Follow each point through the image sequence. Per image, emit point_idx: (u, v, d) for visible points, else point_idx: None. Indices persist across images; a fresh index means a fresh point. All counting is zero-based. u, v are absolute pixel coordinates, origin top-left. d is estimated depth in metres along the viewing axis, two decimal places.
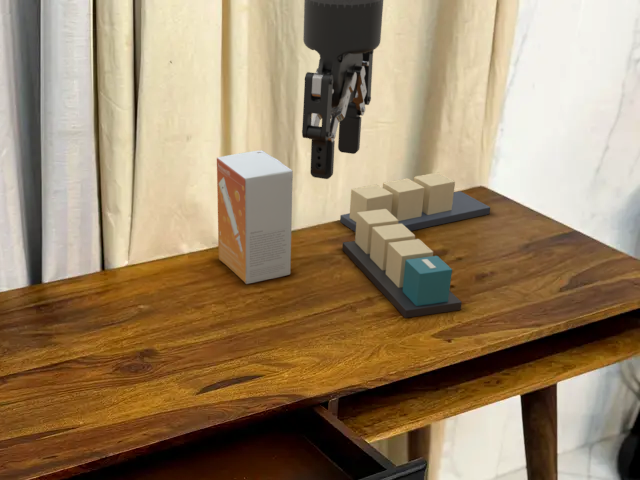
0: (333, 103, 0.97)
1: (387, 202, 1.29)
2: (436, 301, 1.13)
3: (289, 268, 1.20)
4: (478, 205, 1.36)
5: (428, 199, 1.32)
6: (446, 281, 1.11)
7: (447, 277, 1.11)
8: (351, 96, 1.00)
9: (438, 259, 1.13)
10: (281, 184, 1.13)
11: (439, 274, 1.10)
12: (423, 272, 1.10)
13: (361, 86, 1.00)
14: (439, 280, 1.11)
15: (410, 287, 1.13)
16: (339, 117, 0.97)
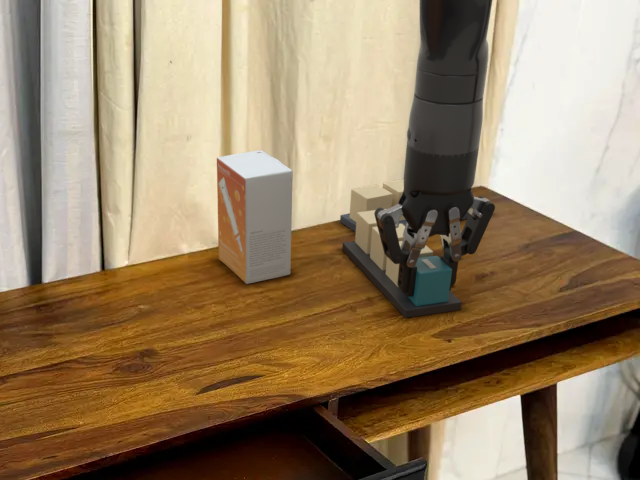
0: (413, 229, 1.08)
1: (387, 202, 1.29)
2: (436, 301, 1.13)
3: (289, 268, 1.20)
4: None
5: None
6: (446, 281, 1.11)
7: (447, 277, 1.11)
8: (443, 230, 1.08)
9: (438, 259, 1.13)
10: (281, 184, 1.13)
11: (439, 274, 1.10)
12: (422, 272, 1.10)
13: (451, 226, 1.08)
14: (439, 280, 1.11)
15: None
16: (417, 247, 1.08)
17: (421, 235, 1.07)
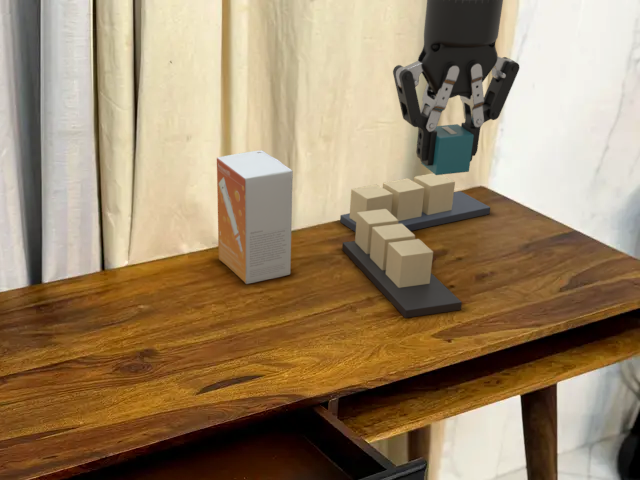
0: (433, 90, 1.03)
1: (387, 202, 1.29)
2: (456, 170, 1.08)
3: (289, 268, 1.20)
4: (478, 205, 1.36)
5: (428, 199, 1.32)
6: (467, 148, 1.07)
7: (468, 143, 1.06)
8: (465, 90, 1.04)
9: (459, 127, 1.08)
10: (281, 184, 1.13)
11: (460, 140, 1.06)
12: (443, 137, 1.05)
13: (473, 86, 1.03)
14: (460, 147, 1.06)
15: None
16: (437, 109, 1.04)
17: (442, 94, 1.02)
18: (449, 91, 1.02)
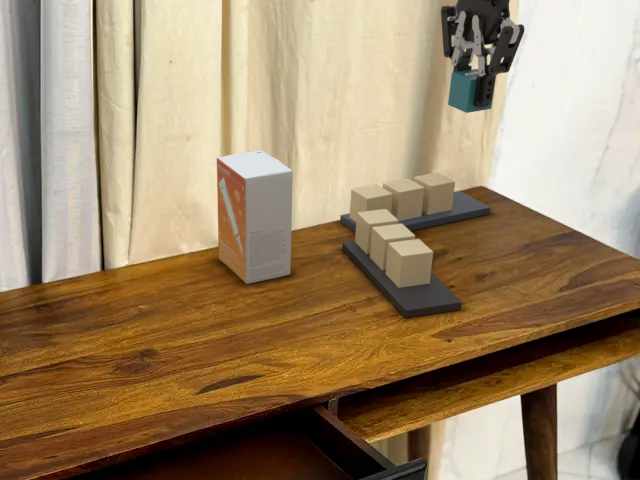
0: None
1: (387, 202, 1.29)
2: (459, 107, 1.26)
3: (289, 268, 1.20)
4: (478, 205, 1.36)
5: (428, 199, 1.32)
6: (466, 90, 1.24)
7: (467, 86, 1.23)
8: None
9: None
10: (281, 184, 1.13)
11: (462, 80, 1.24)
12: (454, 72, 1.25)
13: (475, 35, 1.20)
14: (462, 87, 1.24)
15: None
16: (456, 46, 1.24)
17: (457, 34, 1.23)
18: (461, 33, 1.22)
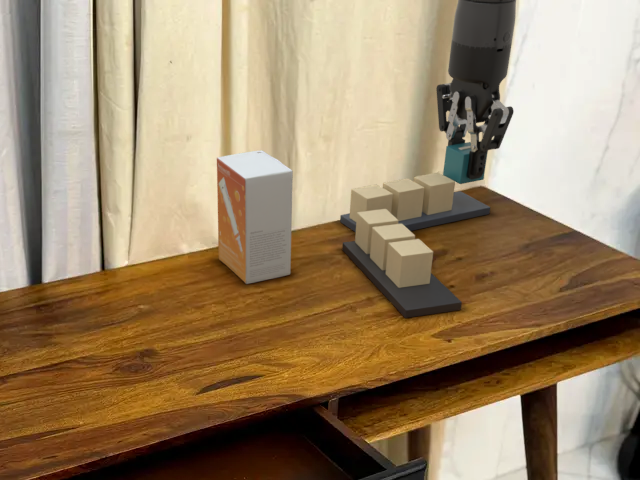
0: None
1: (387, 202, 1.29)
2: (453, 178, 1.34)
3: (289, 268, 1.20)
4: (478, 205, 1.36)
5: (428, 199, 1.32)
6: (460, 163, 1.32)
7: (460, 160, 1.32)
8: None
9: None
10: (281, 184, 1.13)
11: (456, 154, 1.32)
12: (448, 146, 1.33)
13: (468, 114, 1.28)
14: (456, 160, 1.33)
15: None
16: (450, 123, 1.32)
17: (451, 112, 1.31)
18: (455, 111, 1.30)
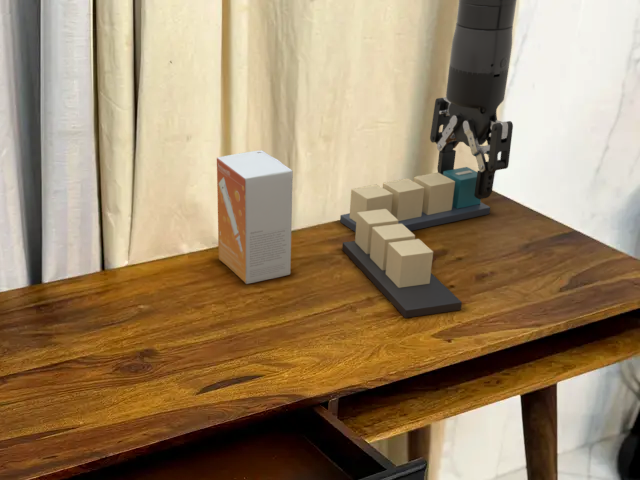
0: None
1: (387, 202, 1.29)
2: None
3: (289, 268, 1.20)
4: (478, 205, 1.36)
5: (428, 199, 1.32)
6: (456, 189, 1.34)
7: (457, 185, 1.34)
8: (466, 140, 1.31)
9: (476, 175, 1.34)
10: (281, 184, 1.13)
11: (453, 179, 1.34)
12: (445, 171, 1.35)
13: (468, 138, 1.30)
14: None
15: None
16: (443, 137, 1.35)
17: (449, 135, 1.33)
18: (450, 131, 1.33)
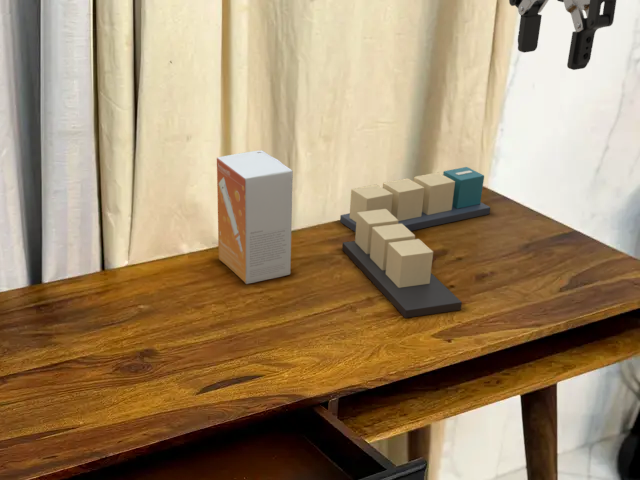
0: None
1: (387, 202, 1.29)
2: None
3: (289, 268, 1.20)
4: (478, 205, 1.36)
5: (428, 199, 1.32)
6: (456, 189, 1.34)
7: (457, 185, 1.34)
8: None
9: (476, 175, 1.34)
10: (281, 184, 1.13)
11: (453, 179, 1.34)
12: (445, 171, 1.35)
13: None
14: None
15: None
16: None
17: None
18: None
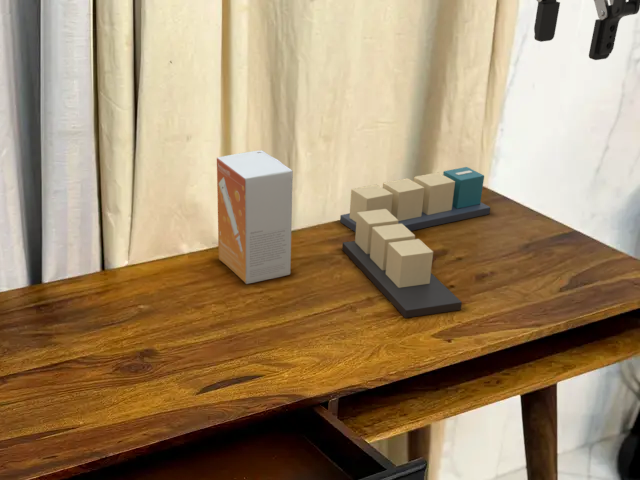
0: None
1: (387, 202, 1.29)
2: None
3: (289, 268, 1.20)
4: (478, 205, 1.36)
5: (428, 199, 1.32)
6: (456, 189, 1.34)
7: (457, 185, 1.34)
8: None
9: (476, 175, 1.34)
10: (281, 184, 1.13)
11: (453, 179, 1.34)
12: (445, 171, 1.35)
13: None
14: None
15: None
16: None
17: None
18: None
